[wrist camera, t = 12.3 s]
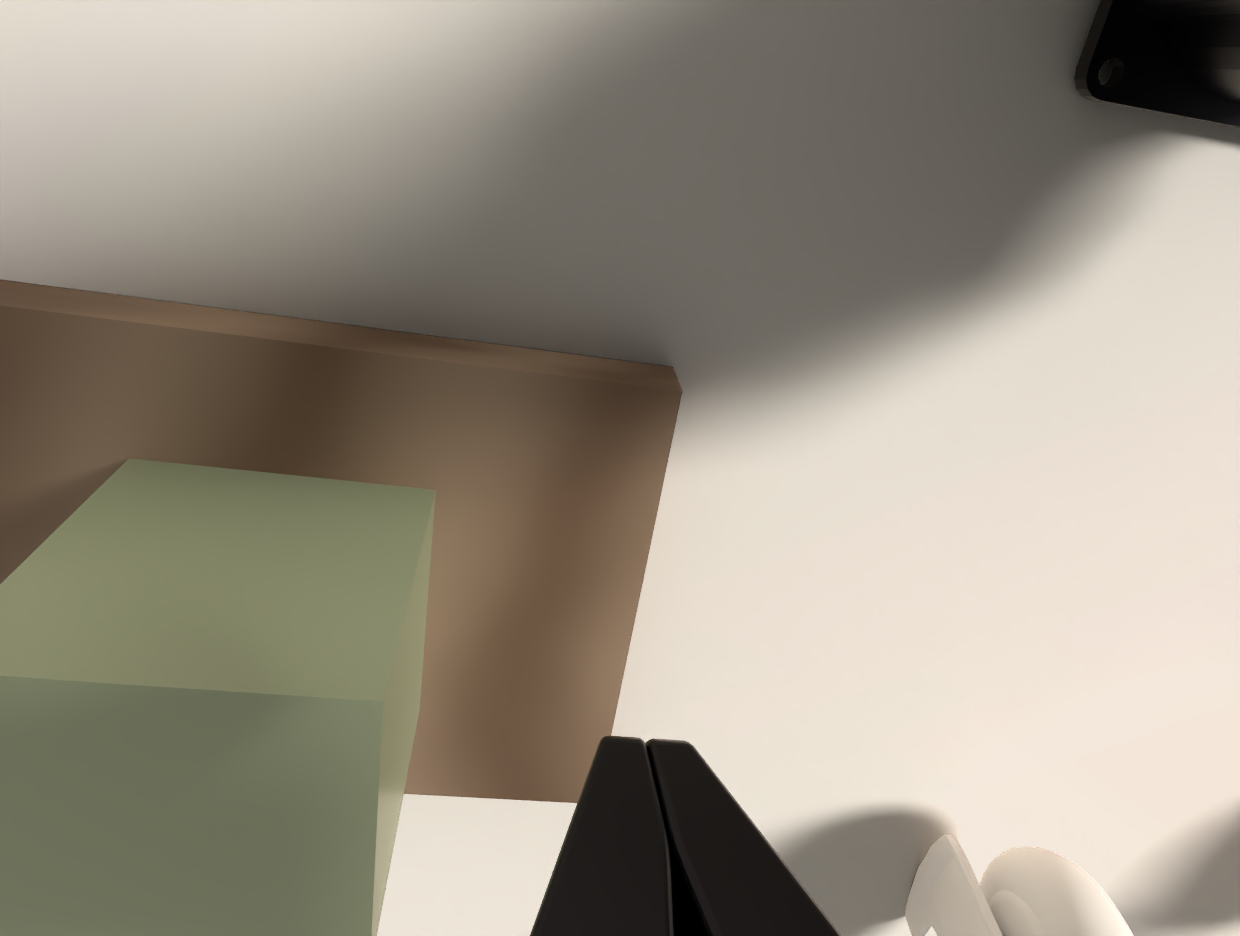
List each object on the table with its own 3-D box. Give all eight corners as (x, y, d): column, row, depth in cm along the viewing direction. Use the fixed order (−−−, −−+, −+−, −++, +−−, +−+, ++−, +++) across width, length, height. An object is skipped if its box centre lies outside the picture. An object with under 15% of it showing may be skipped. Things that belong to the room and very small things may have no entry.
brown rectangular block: (672, 367, 19) (731, 513, 13) (593, 762, 24) (610, 998, 18) (-117, 264, 17) (-490, 384, 11) (-17, 724, 22) (-231, 980, 16)
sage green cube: (435, 489, 18) (382, 701, 12) (419, 710, 21) (369, 972, 15) (129, 458, 17) (-88, 670, 11) (152, 692, 20) (-13, 963, 14)
